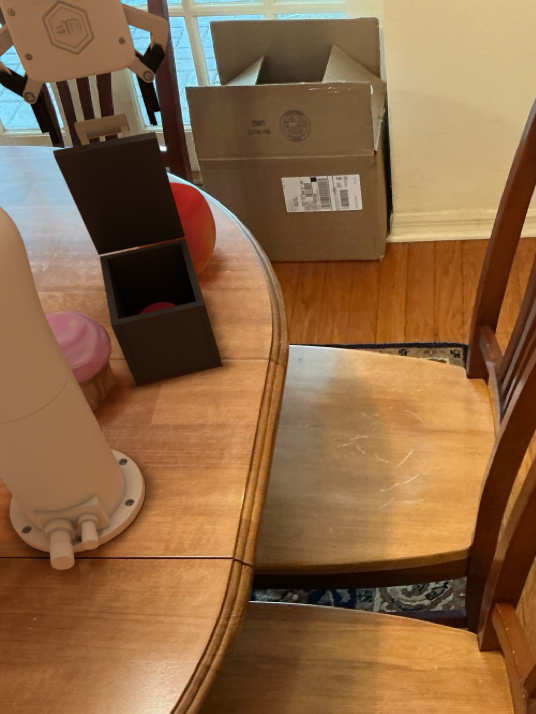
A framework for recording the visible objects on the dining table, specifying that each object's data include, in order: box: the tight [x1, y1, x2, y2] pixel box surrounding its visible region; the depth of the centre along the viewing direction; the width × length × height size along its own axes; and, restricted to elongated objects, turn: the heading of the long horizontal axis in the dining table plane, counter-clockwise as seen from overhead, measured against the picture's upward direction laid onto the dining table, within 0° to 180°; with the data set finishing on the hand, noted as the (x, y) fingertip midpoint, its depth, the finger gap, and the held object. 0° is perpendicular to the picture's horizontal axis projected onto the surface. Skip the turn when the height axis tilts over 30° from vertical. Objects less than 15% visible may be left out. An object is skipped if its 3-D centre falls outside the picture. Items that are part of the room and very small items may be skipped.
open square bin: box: [99, 238, 223, 387], centre depth 85 cm, size 13×10×8 cm
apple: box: [137, 181, 217, 276], centre depth 93 cm, size 10×10×10 cm
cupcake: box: [45, 310, 116, 412], centre depth 80 cm, size 9×9×10 cm
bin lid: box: [52, 113, 185, 256], centre depth 80 cm, size 13×10×6 cm
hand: (105, 128), depth 77 cm, fingers open, 9 cm apart
